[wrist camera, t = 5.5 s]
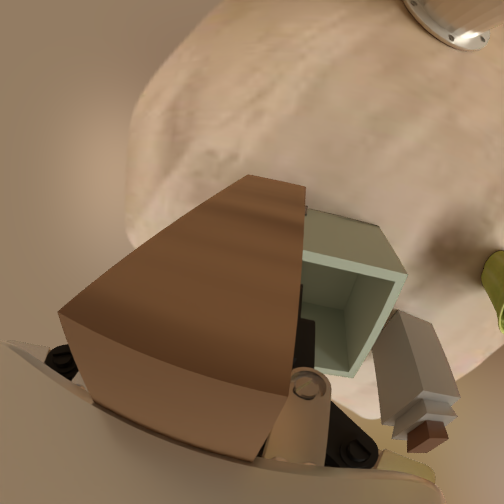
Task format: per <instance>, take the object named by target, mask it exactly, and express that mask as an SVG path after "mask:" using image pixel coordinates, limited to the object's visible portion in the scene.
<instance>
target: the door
mask: <svg viewBox="0 0 504 504" xmlns="http://www.w3.org/2000/svg"><path fill="white" fill-rule="evenodd" d="M305 193H306V187H304V186H300V185H296V184H291V183H287V182H282V181H278V180H273V179H268V178H263V177H258V176H253V175H246V176H245V177H243V178H241V179H240V180H238V181H237V182H235V183H233V184H232V185H230V186H228V187H227V188H225V189H224V190H222V191H220V192H219V193H217V194H216V195H214V196H213V197H211V198H210V199H208V200H206V201H205V202H203V203H202V204H200V205H199V206H197V207H196V208H194V209H193V210H191V211H190V212H188V213H187V214H185V215H184V216H182V217H181V218H179V219H178V220H176V221H175V222H173V223H172V224H171V225H169V226H168V227H166V228H165V229H163V230H162V231H160V232H159V233H158V234H156V235H155V236H153V237H152V238H151V239H149V240H148V241H146V242H145V243H144V244H142V245H141V246H140V247H138V248H137V249H135V250H134V251H133V252H131V253H130V254H129V255H127V256H126V257H125V258H123V259H122V260H121V261H120V262H118V263H117V264H115V265H114V266H113V267H112V268H110V269H109V270H108V271H106V272H105V273H104V274H103V275H101V276H100V277H99V278H98V279H97V280H95V281H94V282H92V283H91V284H90V285H89V286H88V287H86V288H85V289H84V290H83V291H81V292H80V293H79V294H78V295H77V296H75V297H74V298H73V299H72V300H71V301H69V302H68V303H67V304H66V305H65V306H64V307H62V308H61V309H60V310H59V311H58V315H59V318H60V322H61V324H62V328H63V331H64V334H65V336H66V339H67V342H68V345H69V347H70V350H71V353H72V355H73V358H74V360H75V363H76V365H77V367H78V370H79V372H80V374H81V376H82V379H83V381H84V383H85V385H86V387H87V389H88V392H89V394H90V396H91V398H92V400H93V402H95V403H97V404H98V405H100V406H102V407H104V408H106V409H107V410H109V411H111V412H113V413H115V414H117V415H119V416H121V417H123V418H125V419H127V420H129V421H131V422H133V423H135V424H137V425H140V426H142V427H144V428H146V429H149V430H151V431H153V432H156V433H158V434H161V435H163V436H166V437H168V438H171V439H173V440H176V441H179V442H182V443H184V444H187V445H190V446H193V447H196V448H199V449H202V450H206V451H209V452H212V453H216V454H219V455H223V456H227V457H231V458H235V459H239V460H243V461H248V462H253V461H254V459H255V457H256V456H257V454H258V452H259V451H260V449H261V447H262V445H263V444H264V442H265V440H266V438H267V436H268V435H269V433H270V431H271V429H272V427H273V425H274V424H275V422H276V420H277V418H278V416H279V414H280V412H281V410H282V408H283V406H284V404H285V402H286V400H287V398H288V395H289V388H290V380H291V372H292V364H293V356H294V347H295V338H296V328H297V318H298V308H299V296H300V284H301V271H302V256H303V239H304V219H305Z"/></svg>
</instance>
